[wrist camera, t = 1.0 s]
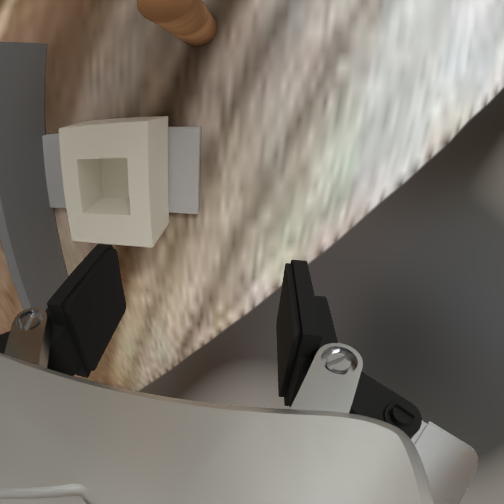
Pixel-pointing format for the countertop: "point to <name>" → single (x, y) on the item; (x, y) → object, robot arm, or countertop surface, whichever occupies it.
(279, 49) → the countertop surface
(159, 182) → the socket block
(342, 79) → the countertop surface
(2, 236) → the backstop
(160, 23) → the dowel
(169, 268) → the countertop surface
